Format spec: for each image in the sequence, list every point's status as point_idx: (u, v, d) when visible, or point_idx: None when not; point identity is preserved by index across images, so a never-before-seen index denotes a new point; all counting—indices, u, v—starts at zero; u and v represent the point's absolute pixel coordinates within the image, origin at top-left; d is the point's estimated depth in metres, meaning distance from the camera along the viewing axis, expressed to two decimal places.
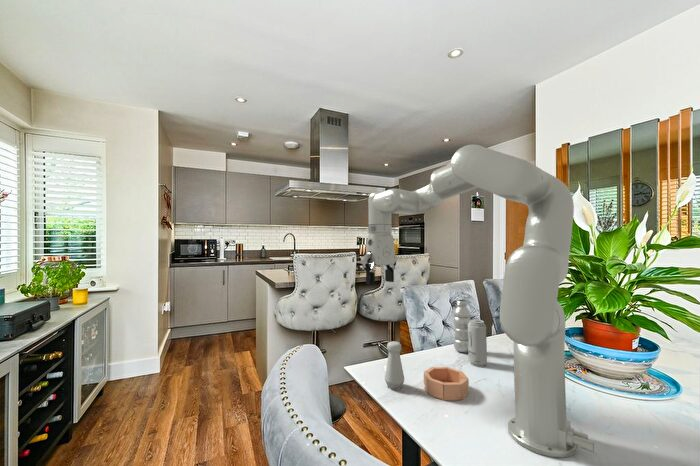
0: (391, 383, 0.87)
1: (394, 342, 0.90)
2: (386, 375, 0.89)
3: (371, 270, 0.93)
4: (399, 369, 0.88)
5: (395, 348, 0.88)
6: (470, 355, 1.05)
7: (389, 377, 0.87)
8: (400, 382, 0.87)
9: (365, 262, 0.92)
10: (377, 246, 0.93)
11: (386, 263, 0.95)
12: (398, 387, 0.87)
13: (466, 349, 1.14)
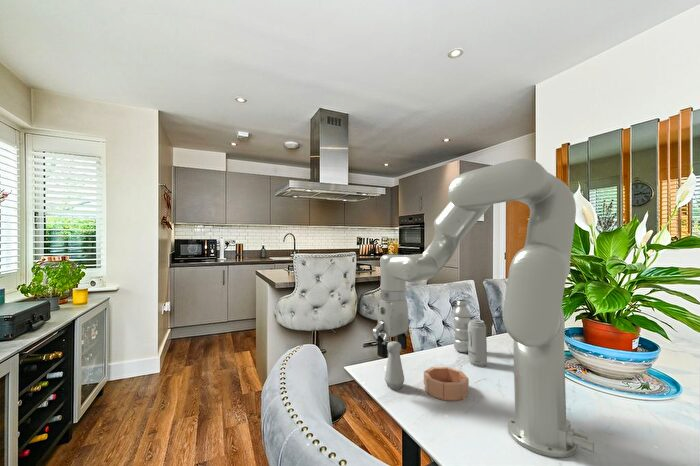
0: (391, 383, 0.87)
1: (394, 342, 0.90)
2: (386, 375, 0.89)
3: (383, 342, 0.85)
4: (399, 369, 0.88)
5: (395, 348, 0.88)
6: (470, 355, 1.05)
7: (389, 377, 0.87)
8: (400, 382, 0.87)
9: (378, 334, 0.84)
10: (390, 316, 0.85)
11: (399, 332, 0.88)
12: (398, 387, 0.87)
13: (466, 349, 1.14)
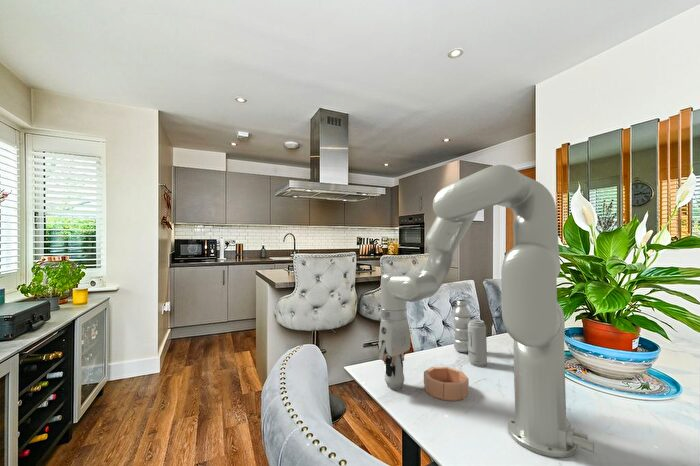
0: (391, 383, 0.87)
1: None
2: (386, 375, 0.89)
3: (392, 364, 0.87)
4: (399, 369, 0.88)
5: None
6: (470, 355, 1.05)
7: (389, 377, 0.87)
8: (400, 382, 0.87)
9: (385, 358, 0.86)
10: (391, 336, 0.85)
11: (401, 352, 0.87)
12: (398, 387, 0.87)
13: (466, 349, 1.14)
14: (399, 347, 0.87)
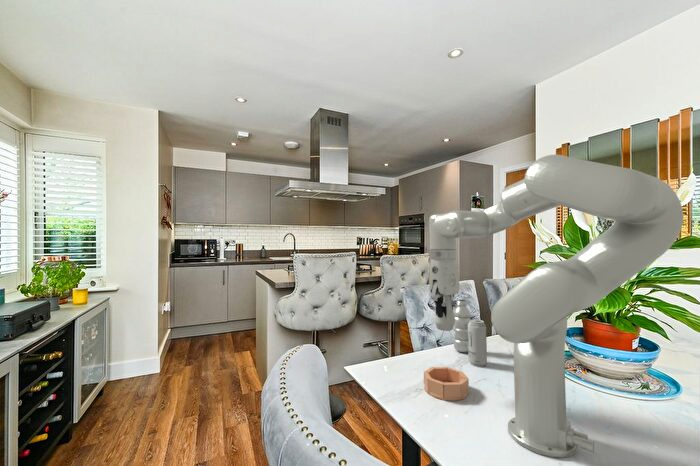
0: (443, 324, 0.85)
1: None
2: (436, 317, 0.87)
3: (443, 304, 0.85)
4: (450, 310, 0.86)
5: None
6: (470, 355, 1.05)
7: None
8: (451, 323, 0.85)
9: (437, 297, 0.84)
10: (444, 274, 0.83)
11: (452, 292, 0.86)
12: (449, 328, 0.85)
13: (466, 349, 1.14)
14: (450, 287, 0.85)
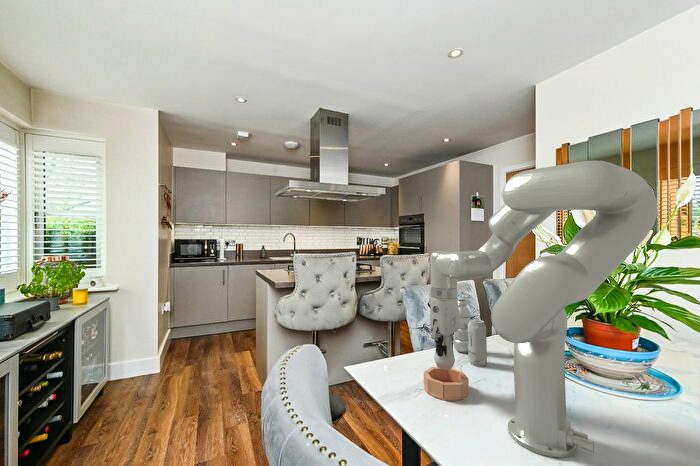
0: (443, 363, 0.85)
1: None
2: (436, 355, 0.87)
3: (443, 344, 0.85)
4: (450, 349, 0.85)
5: None
6: (470, 355, 1.05)
7: None
8: (451, 362, 0.85)
9: (437, 337, 0.83)
10: (444, 315, 0.83)
11: (452, 331, 0.85)
12: (449, 367, 0.85)
13: (466, 349, 1.14)
14: (451, 326, 0.85)
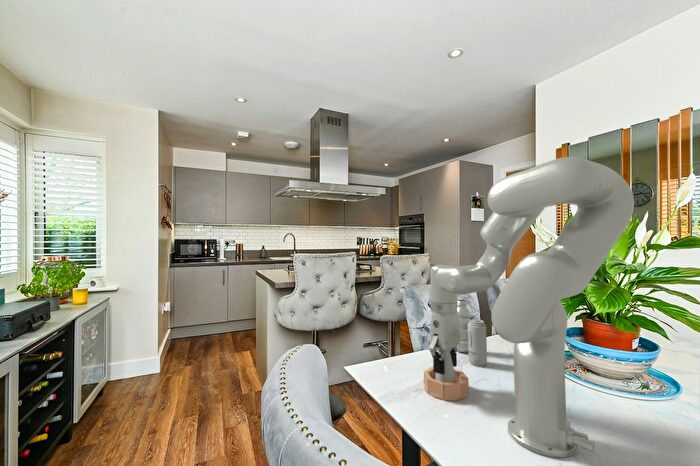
0: None
1: None
2: (437, 376, 0.86)
3: (441, 358, 0.83)
4: (451, 369, 0.85)
5: None
6: (470, 355, 1.05)
7: (441, 377, 0.85)
8: None
9: (435, 350, 0.82)
10: (445, 329, 0.83)
11: (453, 346, 0.85)
12: None
13: (466, 349, 1.14)
14: (451, 341, 0.84)
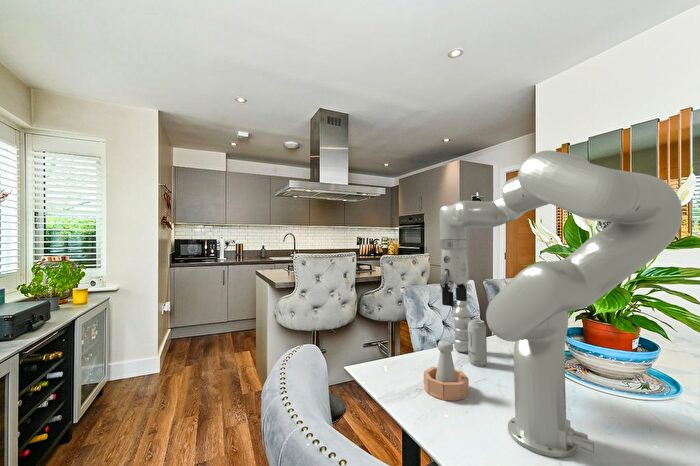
0: None
1: (445, 342, 0.87)
2: (438, 376, 0.86)
3: (450, 290, 0.85)
4: (452, 370, 0.85)
5: (447, 348, 0.85)
6: (470, 355, 1.05)
7: (442, 377, 0.85)
8: None
9: (445, 281, 0.84)
10: (455, 263, 0.85)
11: (463, 281, 0.88)
12: None
13: (466, 349, 1.14)
14: (461, 276, 0.87)
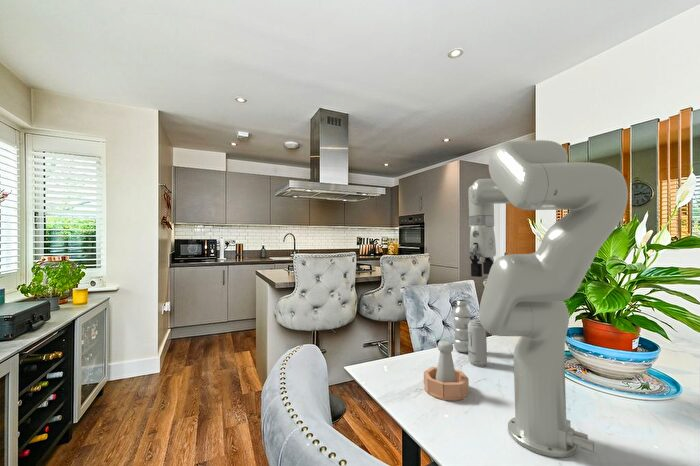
0: None
1: (445, 342, 0.87)
2: (438, 376, 0.86)
3: (479, 262, 0.91)
4: (452, 370, 0.85)
5: (447, 348, 0.85)
6: (470, 355, 1.05)
7: (442, 377, 0.85)
8: None
9: (474, 253, 0.91)
10: (484, 237, 0.92)
11: (491, 255, 0.94)
12: None
13: (466, 349, 1.14)
14: (489, 249, 0.94)
